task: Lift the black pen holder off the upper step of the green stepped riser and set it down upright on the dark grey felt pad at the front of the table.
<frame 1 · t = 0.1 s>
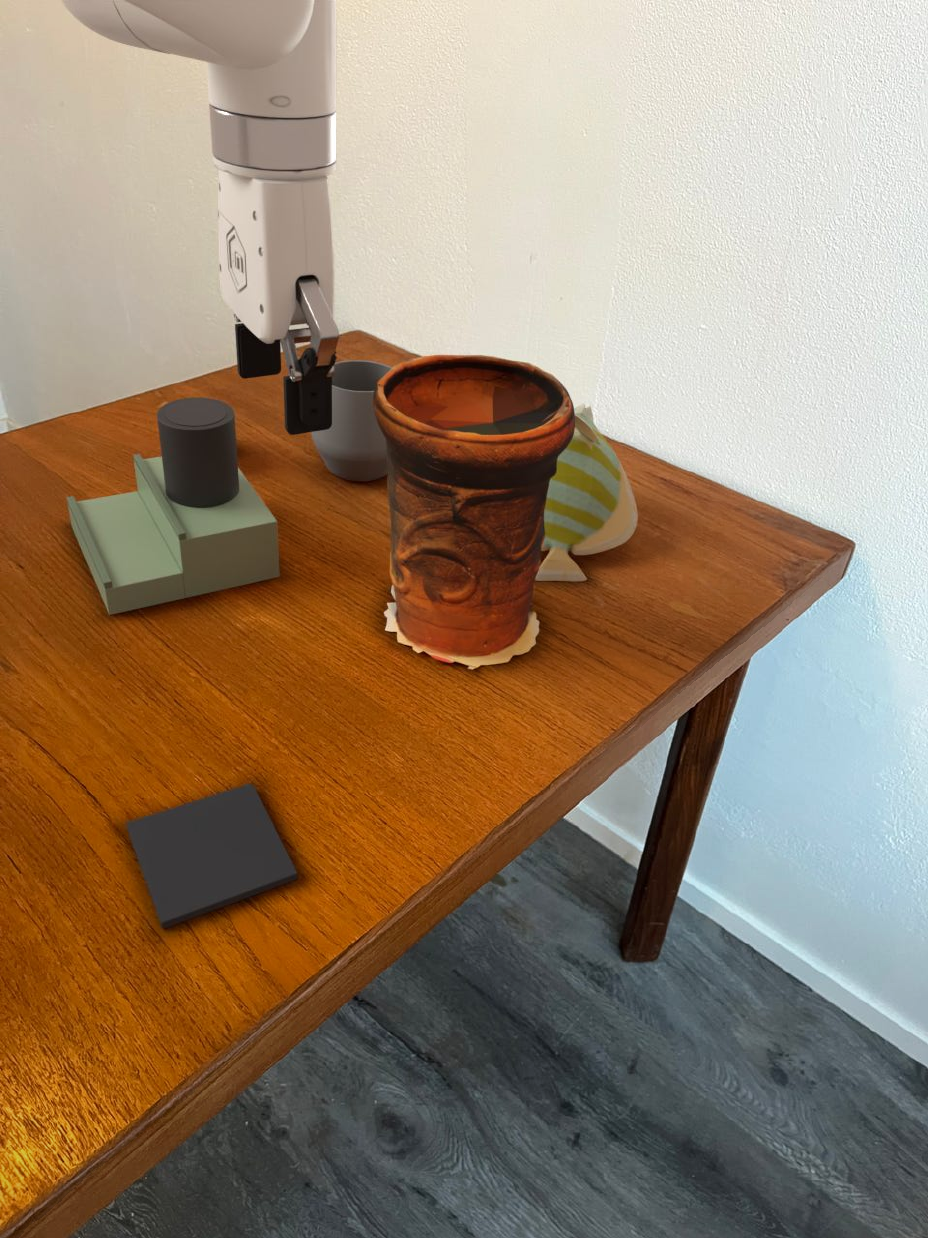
hand: (283, 401, 70), 17 cm above the table, tool pointing down, fingers open, 9 cm apart
stress ball: (198, 458, 98), on the table
vessel: (455, 620, 80), on the table
green stepped riser: (173, 551, 84), on the table
decorative fish sculpture: (548, 530, 92), on the table
holder: (202, 489, 82), point 5 cm above the table, touching green stepped riser
pad: (211, 854, 59), on the table
cup: (359, 470, 99), on the table
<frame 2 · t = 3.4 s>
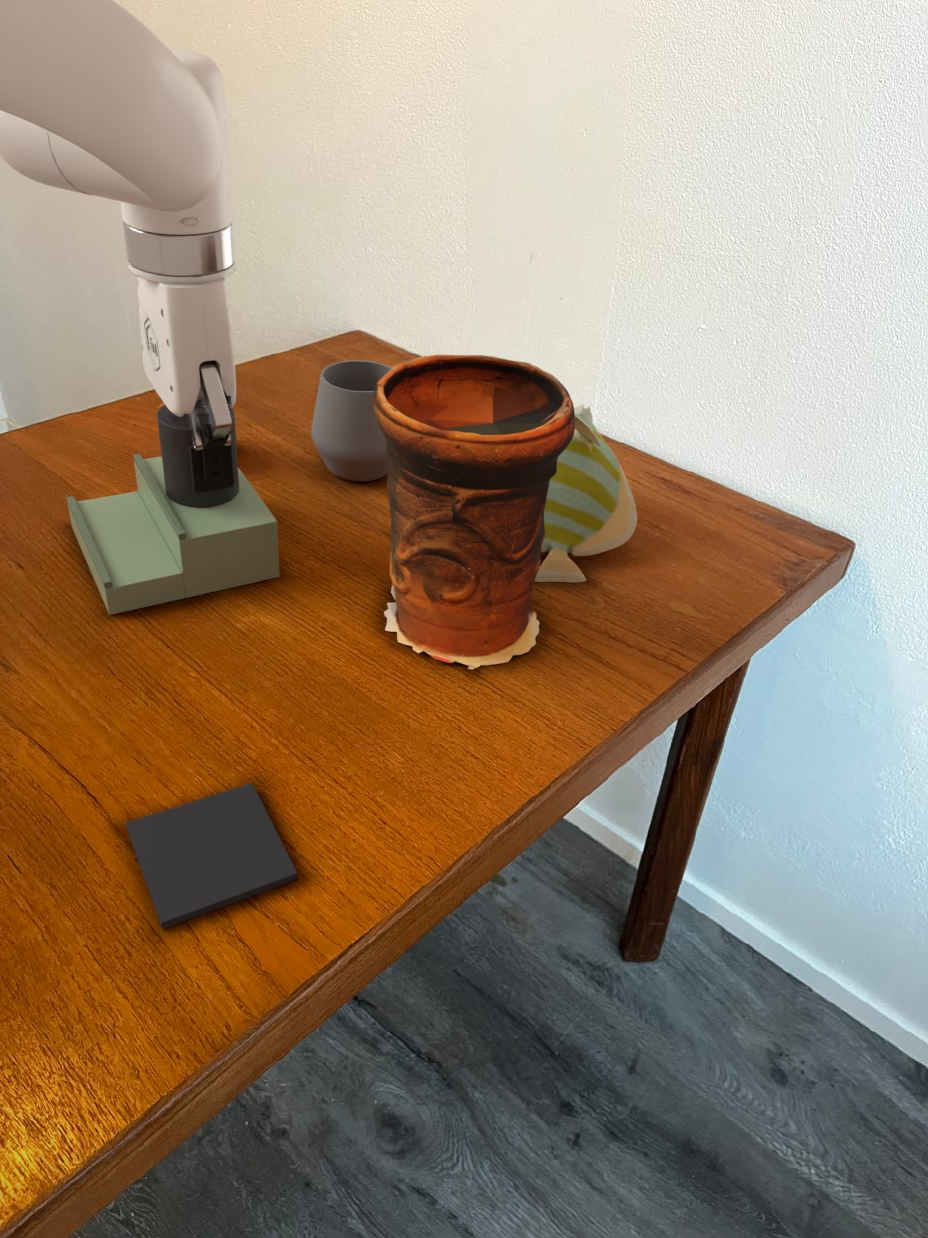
hand: (200, 467, 81), 8 cm above the table, tool pointing down, fingers closed on holder, 6 cm apart
holder: (202, 489, 82), point 6 cm above the table, touching gripper, green stepped riser
everything else where it was.
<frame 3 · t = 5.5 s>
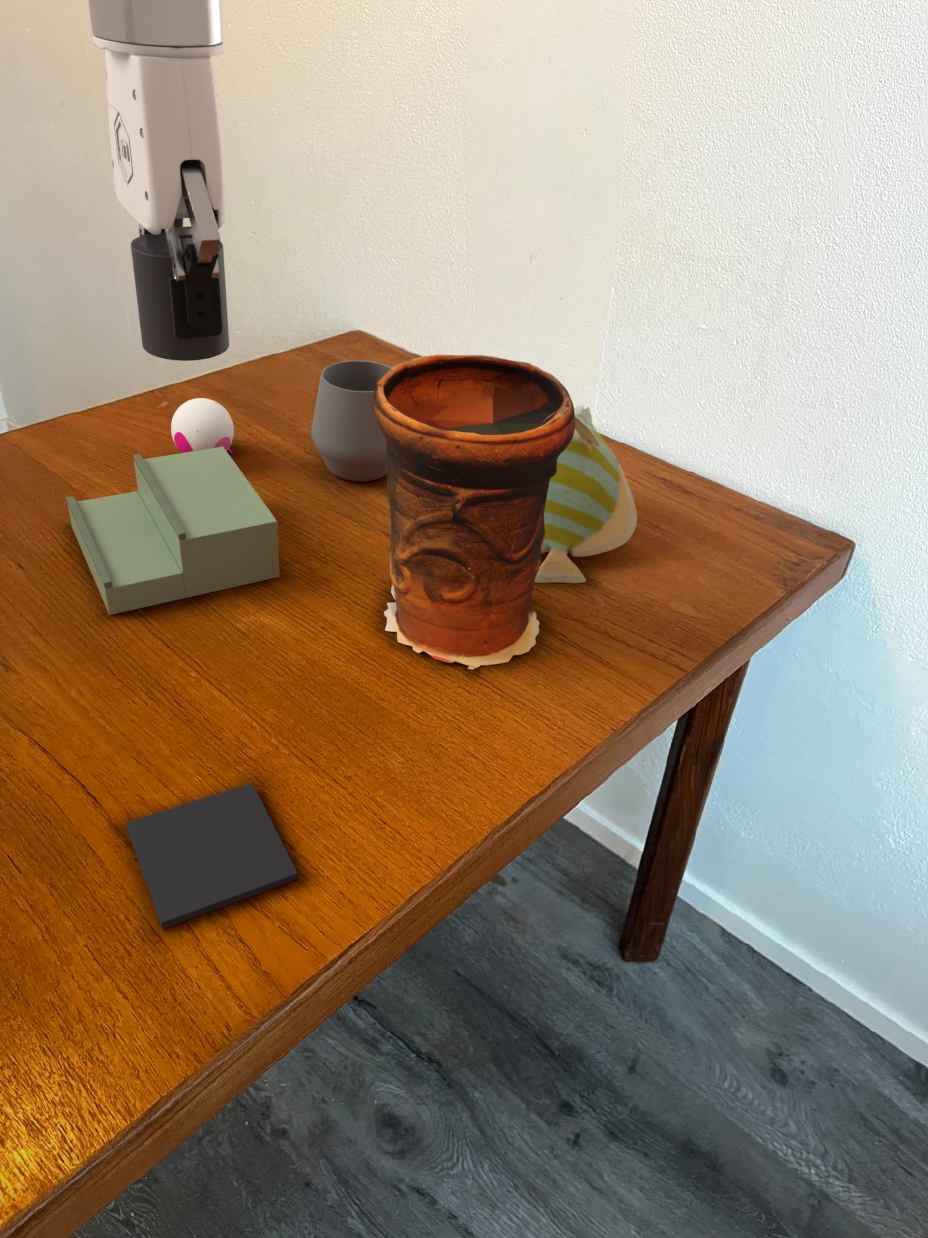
hand: (183, 316, 68), 22 cm above the table, tool pointing down, fingers closed on holder, 6 cm apart
holder: (186, 344, 70), point 20 cm above the table, touching gripper
everything else where it was.
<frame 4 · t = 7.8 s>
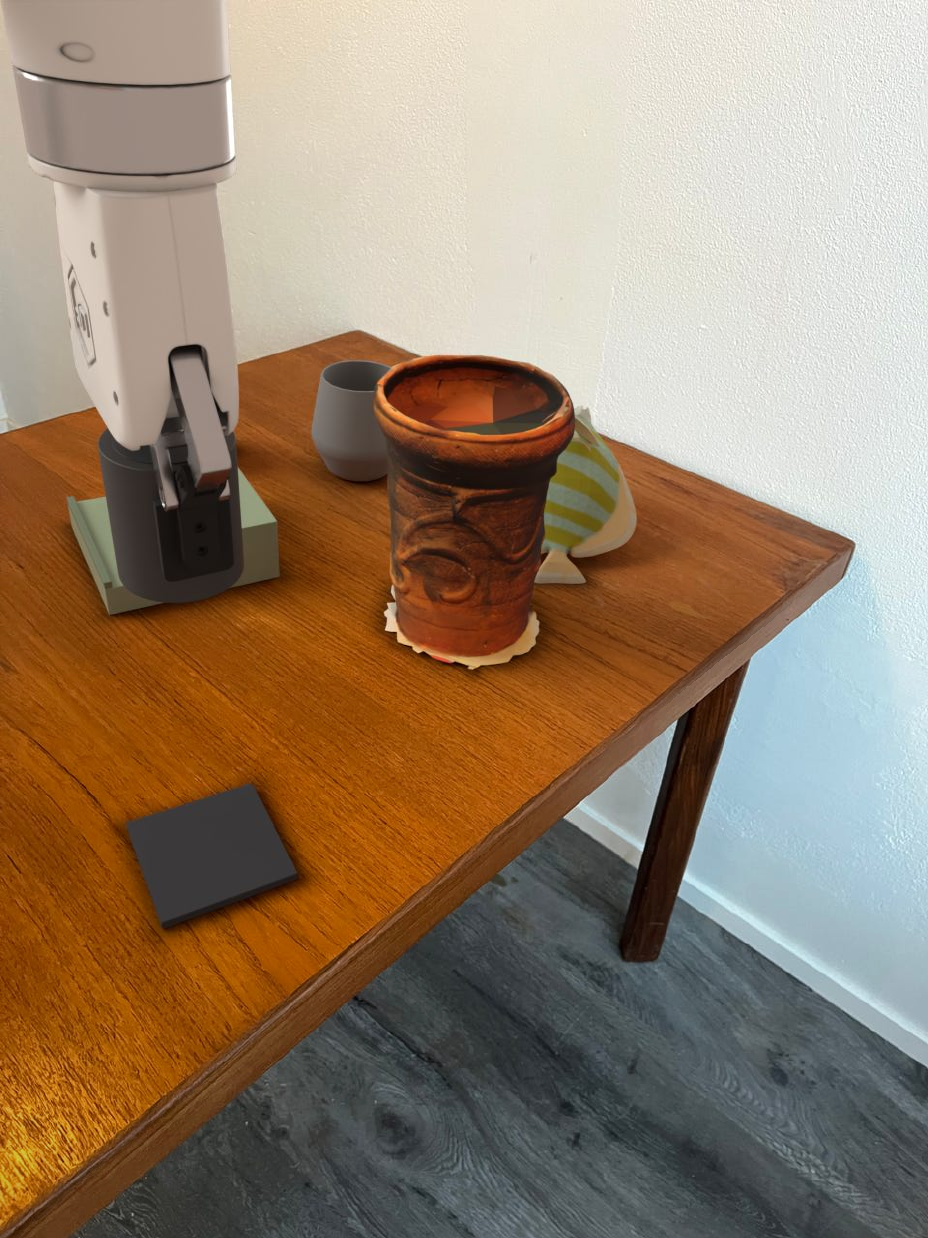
hand: (177, 532, 47), 22 cm above the table, tool pointing down, fingers closed on holder, 6 cm apart
holder: (182, 567, 48), point 20 cm above the table, touching gripper
everything else where it was.
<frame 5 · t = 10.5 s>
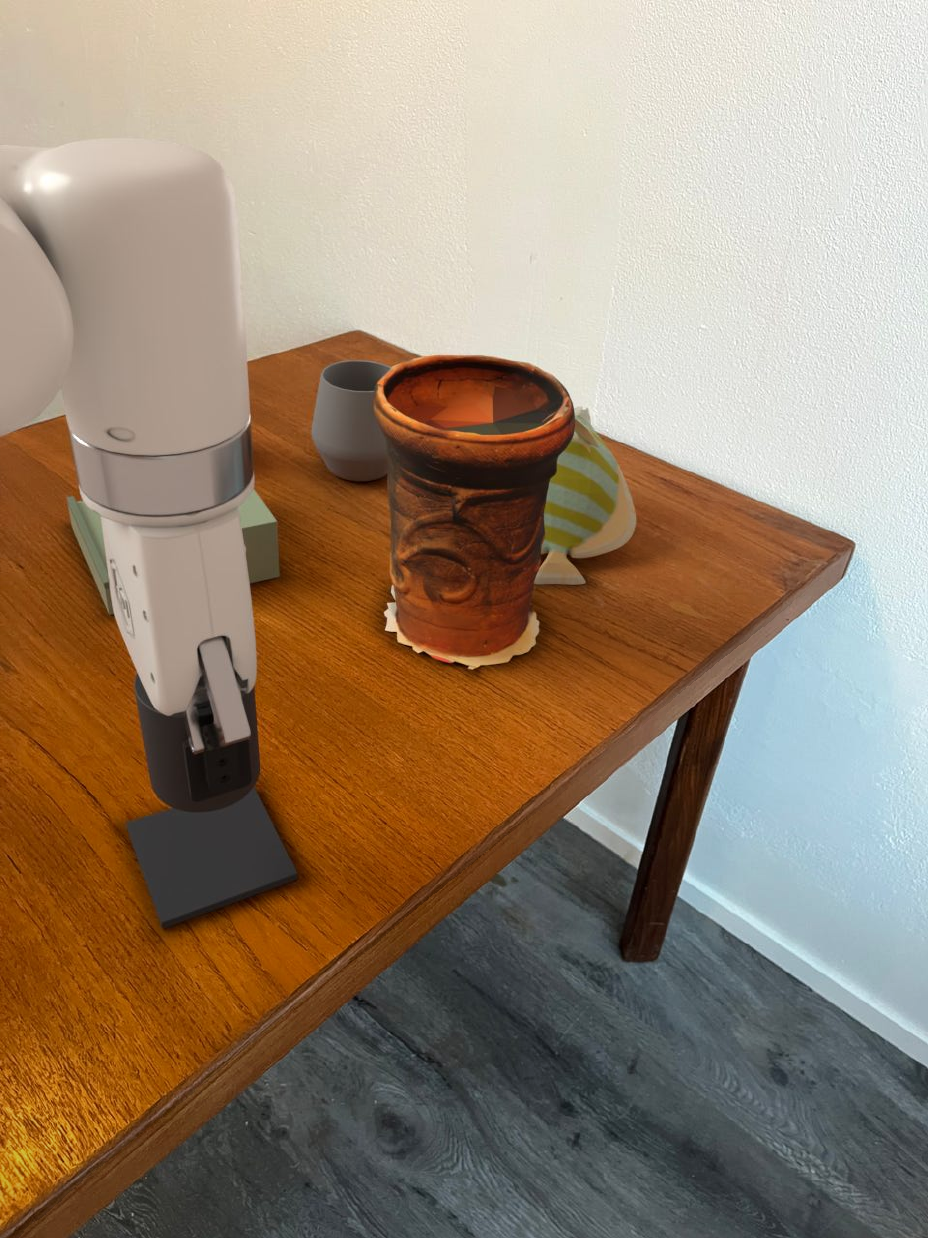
hand: (201, 746, 53), 9 cm above the table, tool pointing down, fingers closed on holder, 6 cm apart
holder: (206, 772, 55), point 7 cm above the table, touching gripper
everything else where it was.
when the fingers open (3 cm above the table, at t = 12.5 s): holder stays where it is, resting on pad.
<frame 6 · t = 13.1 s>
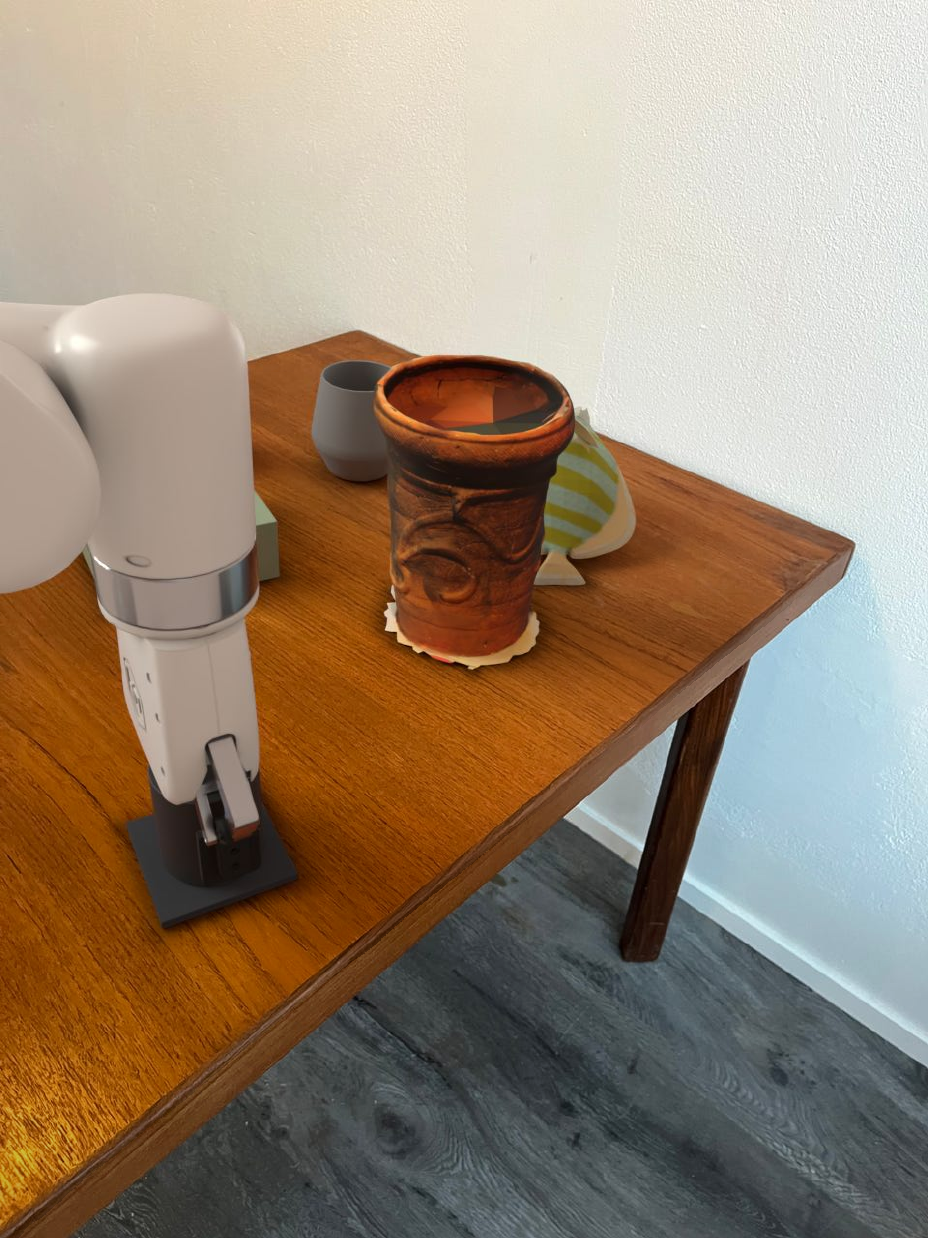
hand: (204, 813, 56), 4 cm above the table, tool pointing down, fingers open, 9 cm apart
holder: (213, 846, 58), point 1 cm above the table, touching pad
everything else where it was.
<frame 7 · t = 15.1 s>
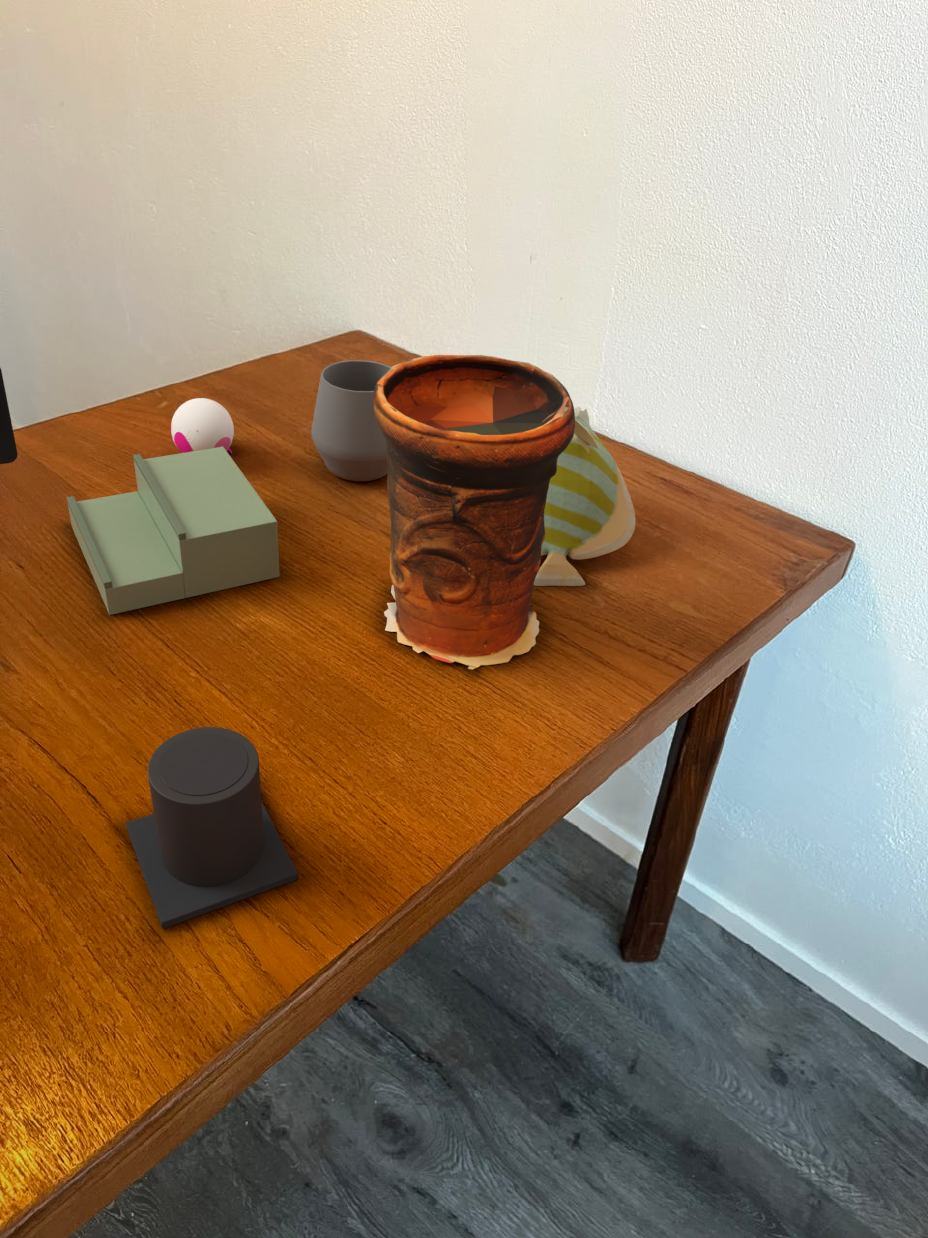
nothing on the table moved.
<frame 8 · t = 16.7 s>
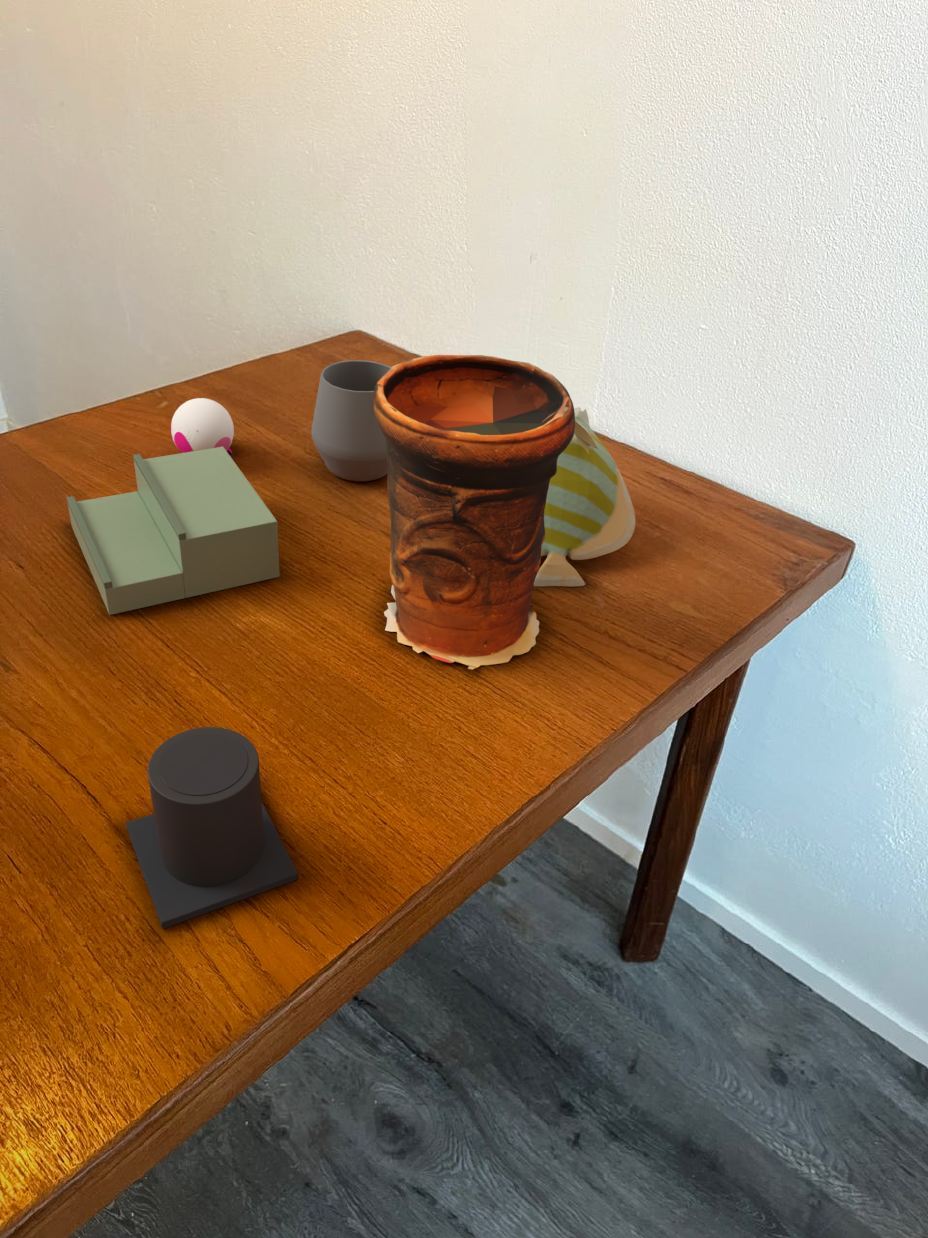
nothing on the table moved.
at the end: holder 0.2 cm off-centre on the pad, point 0.6 cm above the pad's base; holder tilted 0°; holder touching pad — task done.
